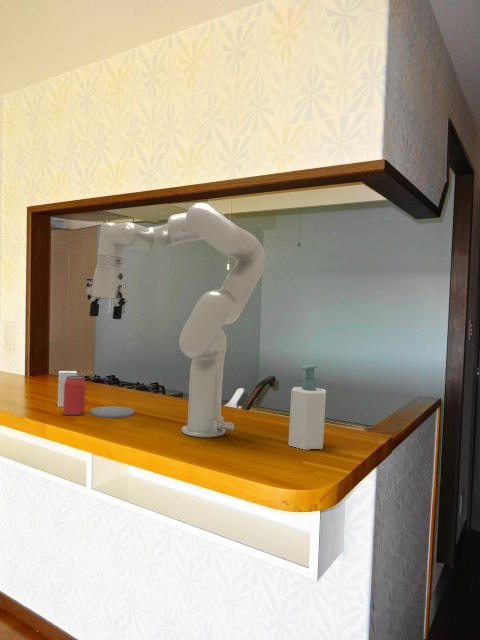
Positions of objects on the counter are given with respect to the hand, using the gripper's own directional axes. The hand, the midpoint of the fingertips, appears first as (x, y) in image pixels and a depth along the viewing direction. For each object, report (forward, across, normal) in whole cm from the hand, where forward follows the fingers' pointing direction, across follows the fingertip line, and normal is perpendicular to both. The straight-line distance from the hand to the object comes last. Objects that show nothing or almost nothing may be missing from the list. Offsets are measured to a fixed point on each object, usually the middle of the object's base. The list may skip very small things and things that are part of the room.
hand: (105, 317), depth 155 cm
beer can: (+32, +9, 0) cm, 34 cm away
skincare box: (+33, +21, -7) cm, 40 cm away
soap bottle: (+29, -65, -12) cm, 73 cm away
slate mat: (+32, +1, -8) cm, 33 cm away
